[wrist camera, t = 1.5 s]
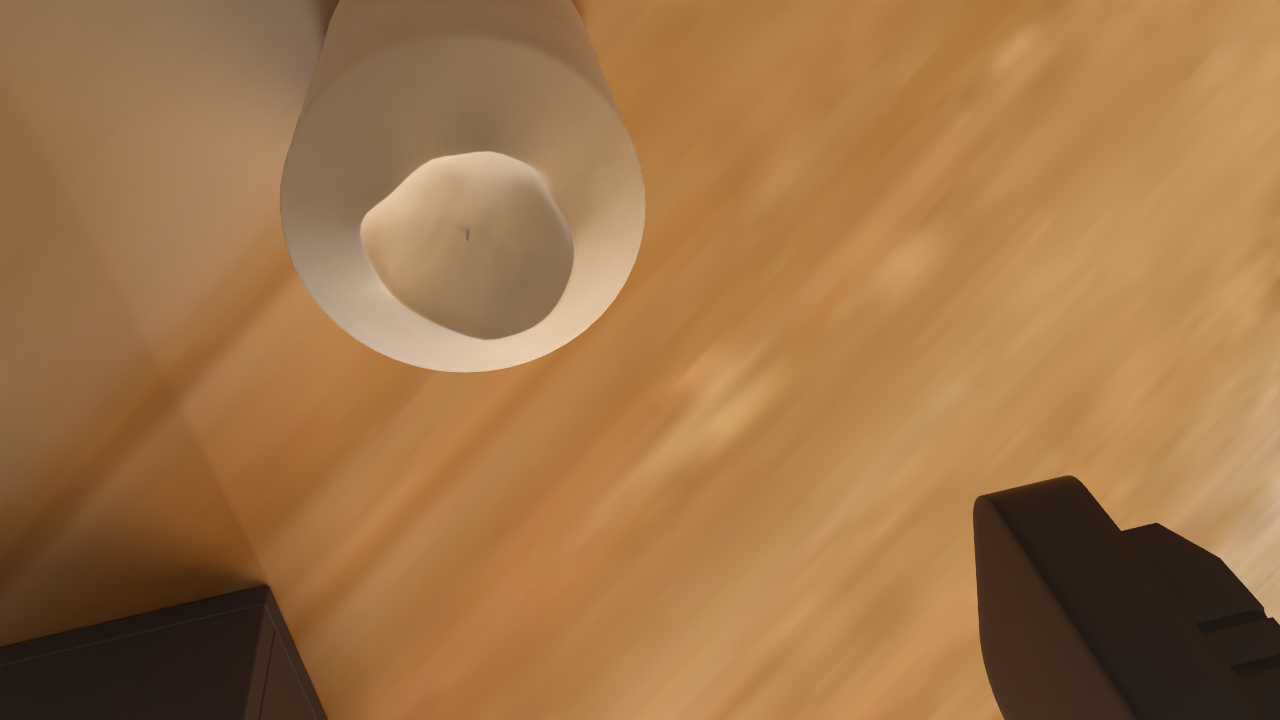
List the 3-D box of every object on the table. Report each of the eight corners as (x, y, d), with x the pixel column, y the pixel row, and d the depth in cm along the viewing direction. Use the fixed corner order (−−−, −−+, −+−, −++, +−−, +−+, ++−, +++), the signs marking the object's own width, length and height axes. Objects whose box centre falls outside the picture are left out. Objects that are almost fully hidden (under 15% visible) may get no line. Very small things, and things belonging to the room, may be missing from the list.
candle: (287, 123, 26) (211, 344, 17) (386, -123, 24) (356, -11, 15) (522, 222, 28) (558, 466, 19) (632, 2, 26) (729, 165, 17)
